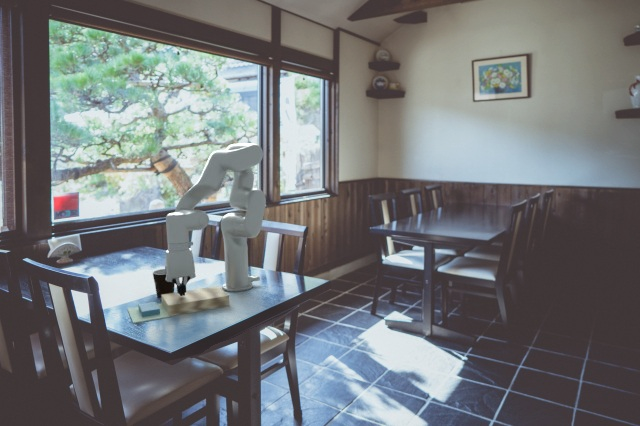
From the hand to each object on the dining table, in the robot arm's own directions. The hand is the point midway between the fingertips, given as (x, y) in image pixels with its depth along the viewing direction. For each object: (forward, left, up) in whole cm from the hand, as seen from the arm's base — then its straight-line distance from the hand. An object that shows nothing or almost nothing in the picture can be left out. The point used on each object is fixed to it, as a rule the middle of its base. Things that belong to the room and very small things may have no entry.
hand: (182, 294), depth 180 cm
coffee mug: (+2, -19, -5) cm, 19 cm away
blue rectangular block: (+12, 0, -2) cm, 12 cm away
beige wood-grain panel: (-5, 0, -5) cm, 7 cm away
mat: (+12, 0, -5) cm, 13 cm away
